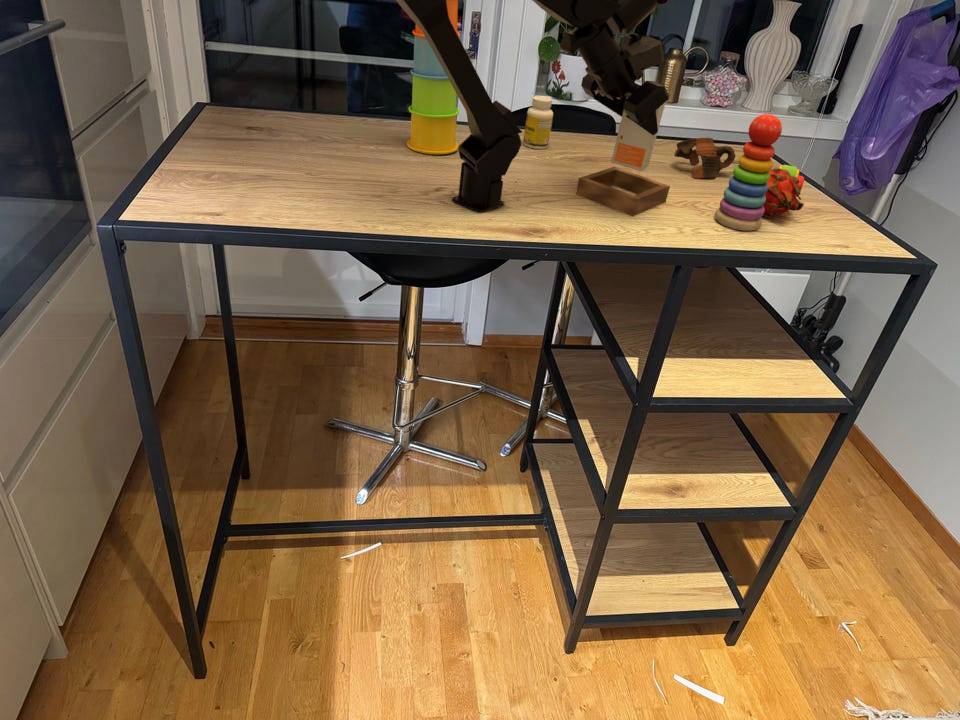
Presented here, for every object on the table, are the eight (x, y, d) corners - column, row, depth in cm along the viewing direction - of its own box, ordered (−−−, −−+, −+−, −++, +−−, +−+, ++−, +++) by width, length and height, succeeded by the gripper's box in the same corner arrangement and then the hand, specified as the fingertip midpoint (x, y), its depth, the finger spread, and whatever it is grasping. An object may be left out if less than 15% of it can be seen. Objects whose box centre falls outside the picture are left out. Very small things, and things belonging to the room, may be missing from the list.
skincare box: (610, 163, 124) (626, 92, 118) (616, 158, 128) (633, 89, 122) (643, 172, 123) (661, 100, 116) (649, 167, 126) (667, 97, 120)
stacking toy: (724, 211, 129) (757, 105, 119) (766, 225, 125) (804, 118, 115) (706, 221, 124) (739, 111, 113) (749, 236, 120) (788, 124, 110)
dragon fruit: (761, 206, 137) (775, 241, 129) (735, 179, 134) (746, 212, 125) (801, 178, 133) (818, 211, 124) (775, 148, 129) (790, 181, 120)
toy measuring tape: (760, 204, 135) (771, 170, 131) (765, 177, 150) (775, 146, 146) (795, 212, 133) (807, 178, 129) (796, 183, 148) (808, 152, 145)
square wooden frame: (575, 194, 128) (578, 178, 126) (631, 174, 141) (635, 159, 139) (632, 216, 122) (636, 199, 120) (685, 193, 135) (689, 178, 133)
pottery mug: (679, 180, 143) (676, 138, 142) (672, 187, 152) (669, 148, 152) (740, 173, 142) (738, 131, 141) (730, 180, 151) (727, 141, 150)
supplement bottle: (519, 141, 151) (525, 94, 146) (542, 142, 153) (549, 95, 148) (527, 149, 147) (535, 101, 142) (551, 150, 149) (559, 102, 143)
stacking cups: (424, 158, 135) (439, -51, 116) (397, 142, 141) (406, -58, 122) (468, 153, 140) (489, -47, 121) (439, 137, 147) (455, -54, 128)
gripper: (675, 29, 104) (713, 109, 114) (612, 8, 118) (650, 80, 128) (617, 83, 105) (659, 157, 115) (561, 55, 119) (603, 123, 129)
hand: (643, 126), depth 122 cm, fingers closed on skincare box, 7 cm apart
